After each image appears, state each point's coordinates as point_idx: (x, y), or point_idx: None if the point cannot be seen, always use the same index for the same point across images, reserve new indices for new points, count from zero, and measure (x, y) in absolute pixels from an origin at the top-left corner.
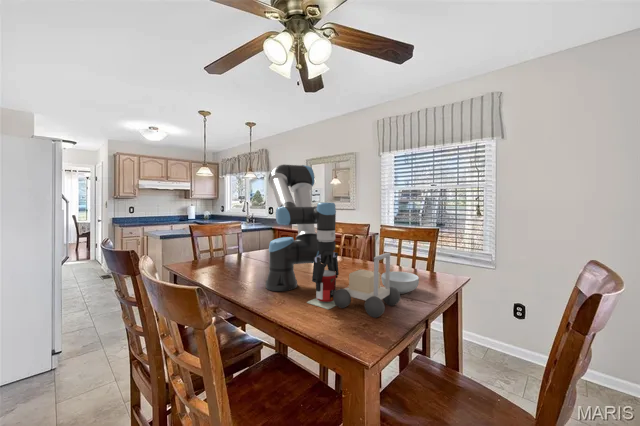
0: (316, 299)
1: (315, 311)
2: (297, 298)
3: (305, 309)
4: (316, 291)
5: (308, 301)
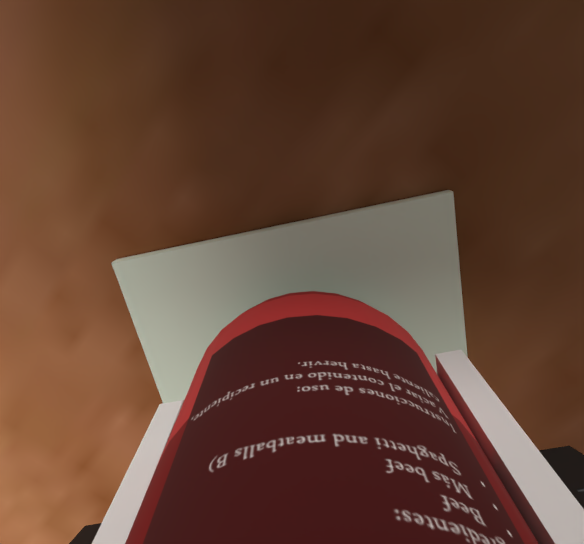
0: (259, 271)
1: (79, 469)
2: (86, 33)
3: (15, 386)
4: (127, 475)
5: (135, 264)
